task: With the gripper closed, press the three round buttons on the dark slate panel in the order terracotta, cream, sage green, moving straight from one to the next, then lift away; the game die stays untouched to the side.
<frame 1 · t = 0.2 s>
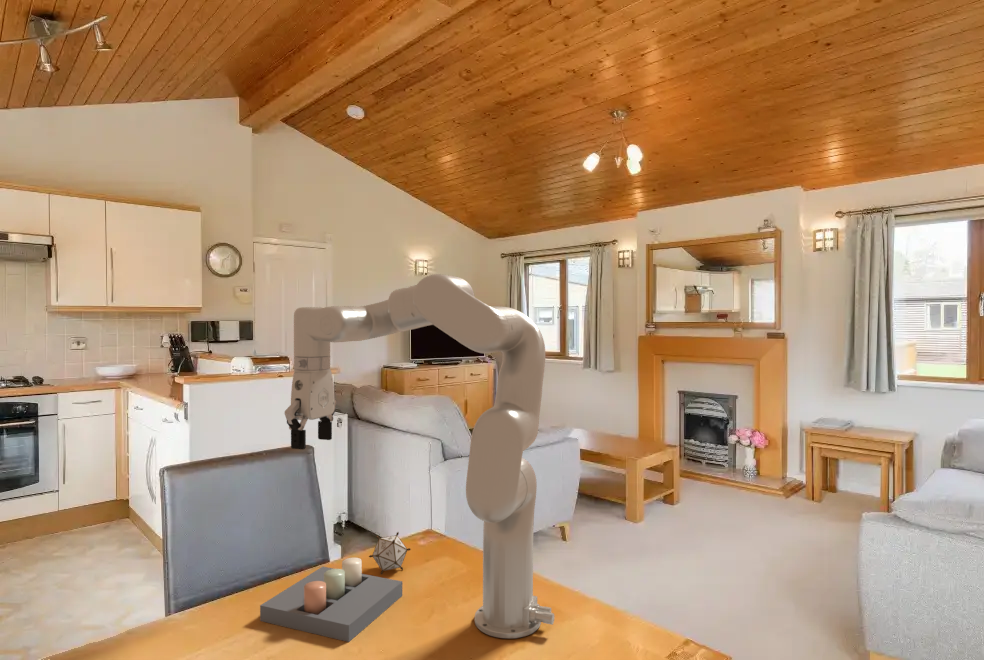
hand: (312, 443, 129), 31 cm above the table, tool pointing down, fingers open, 9 cm apart
terracotta button: (315, 598, 113), point 4 cm above the table, slide at 0.0 cm
sage button: (334, 585, 119), point 4 cm above the table, slide at 0.0 cm
game die: (389, 570, 137), on the table
cream button: (351, 573, 125), point 4 cm above the table, slide at 0.0 cm
panel: (334, 607, 119), on the table
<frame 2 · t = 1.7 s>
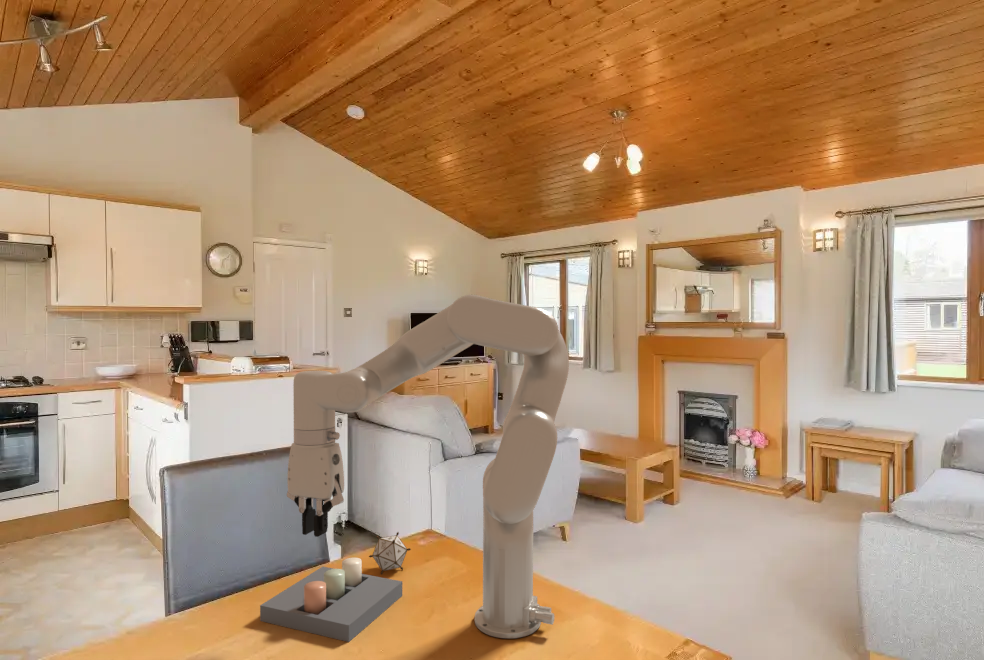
hand: (314, 532, 113), 17 cm above the table, tool pointing down, fingers closed
nothing on the table moved.
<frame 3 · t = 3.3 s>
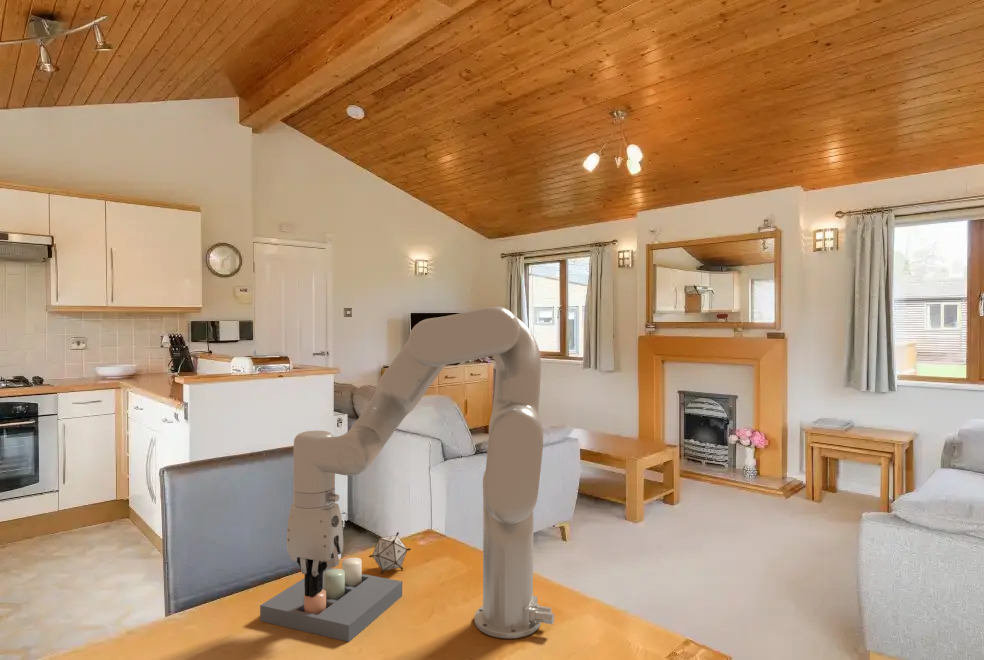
hand: (313, 593, 113), 6 cm above the table, tool pointing down, fingers closed
terracotta button: (315, 606, 113), point 3 cm above the table, slide at 1.5 cm
everything else where it was.
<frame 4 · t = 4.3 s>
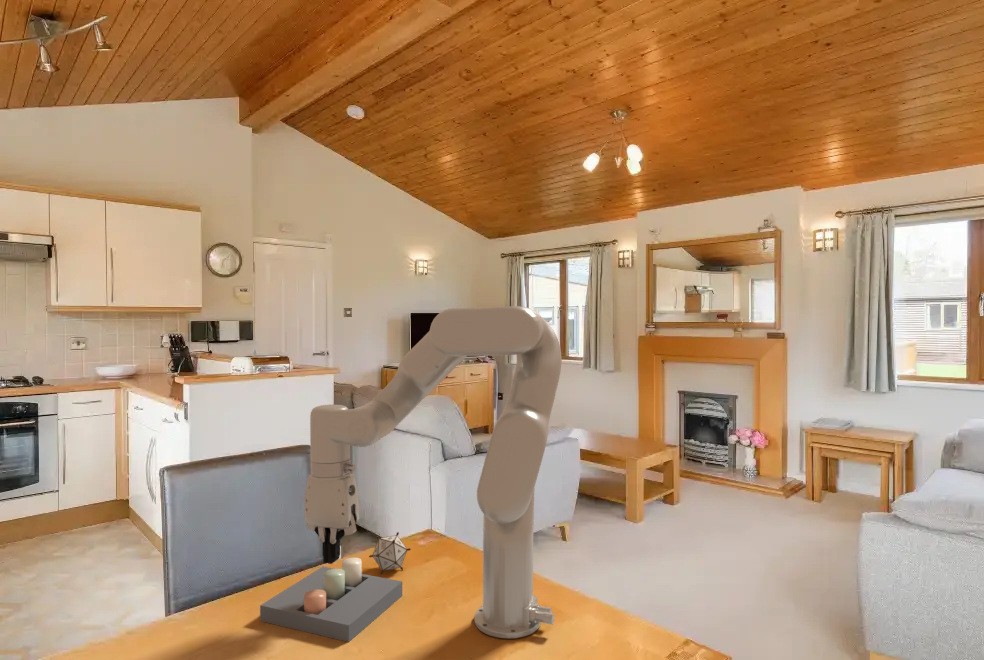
hand: (331, 560, 118), 10 cm above the table, tool pointing down, fingers closed
nothing on the table moved.
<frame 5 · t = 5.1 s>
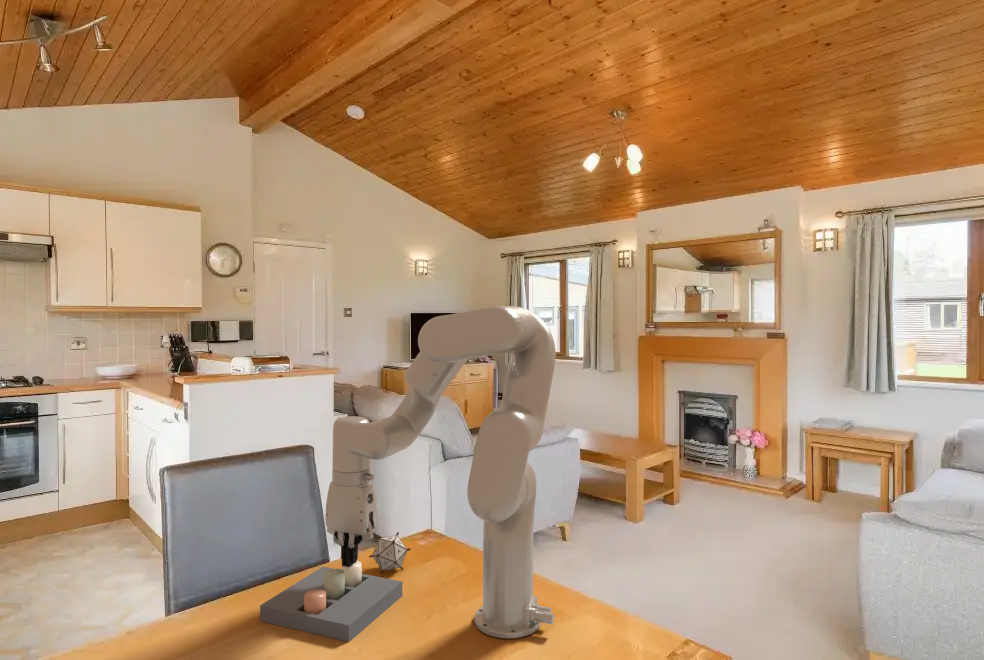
hand: (349, 563, 125), 6 cm above the table, tool pointing down, fingers closed
cream button: (351, 576, 125), point 4 cm above the table, slide at 0.6 cm, touching gripper
everything else where it was.
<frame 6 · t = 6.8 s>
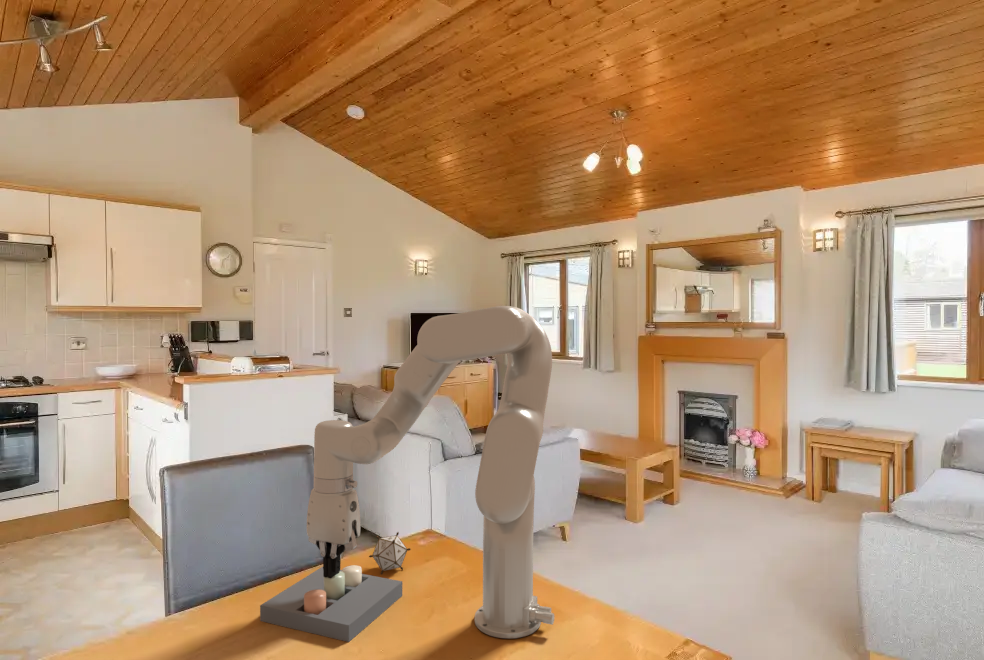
hand: (331, 574, 119), 7 cm above the table, tool pointing down, fingers closed
sage button: (334, 587, 119), point 4 cm above the table, slide at 0.5 cm, touching gripper
cream button: (351, 581, 125), point 3 cm above the table, slide at 1.7 cm
everything else where it was.
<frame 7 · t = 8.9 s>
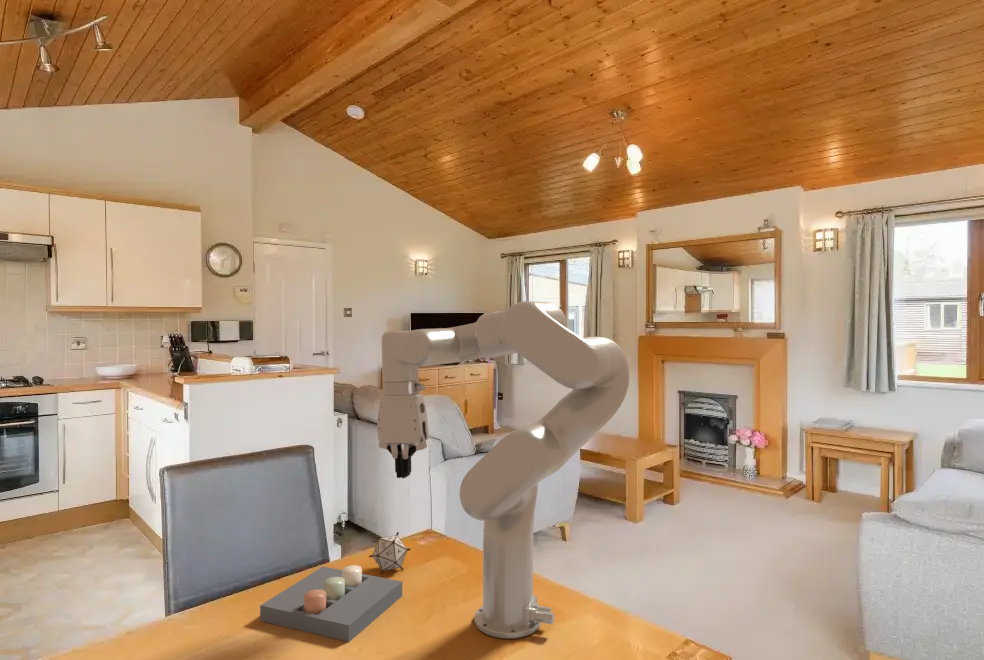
hand: (403, 476, 125), 24 cm above the table, tool pointing down, fingers closed
sage button: (334, 593, 119), point 3 cm above the table, slide at 1.7 cm
everything else where it was.
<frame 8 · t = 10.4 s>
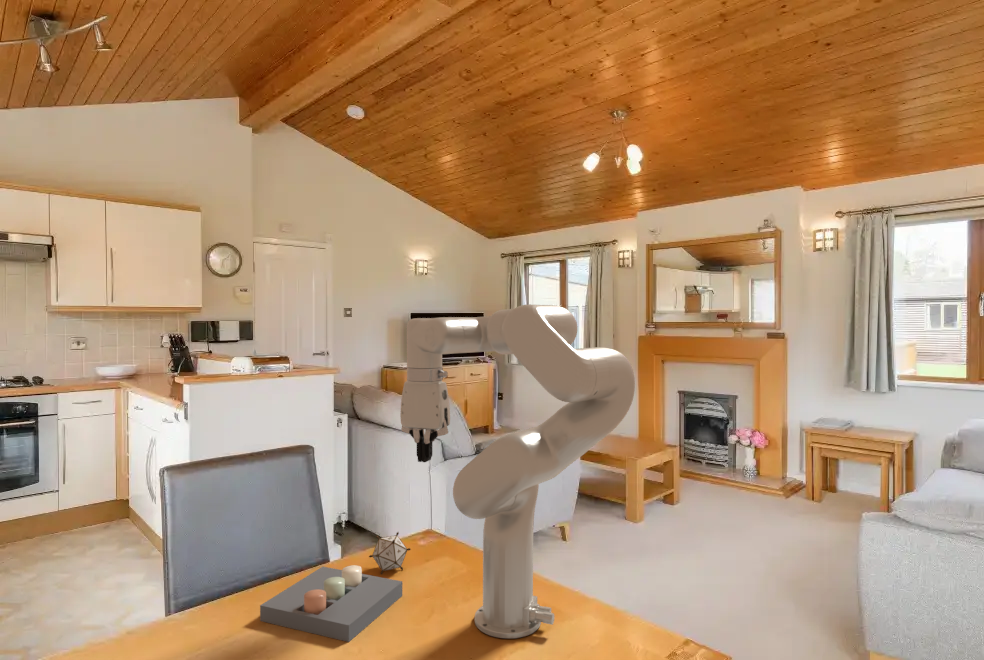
hand: (424, 460, 129), 27 cm above the table, tool pointing down, fingers closed
nothing on the table moved.
at the end: terracotta button slide at 1.7 cm; cream button slide at 1.7 cm; sage button slide at 1.7 cm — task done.
